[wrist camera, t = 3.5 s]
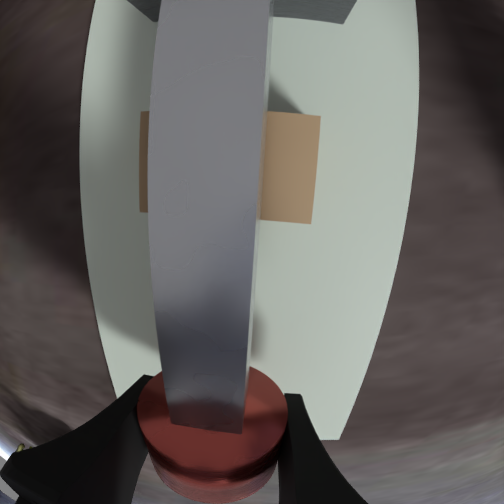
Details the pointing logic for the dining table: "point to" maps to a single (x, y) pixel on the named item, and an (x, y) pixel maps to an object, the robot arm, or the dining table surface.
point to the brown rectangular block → (270, 166)
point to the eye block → (278, 9)
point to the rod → (209, 250)
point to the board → (271, 232)
